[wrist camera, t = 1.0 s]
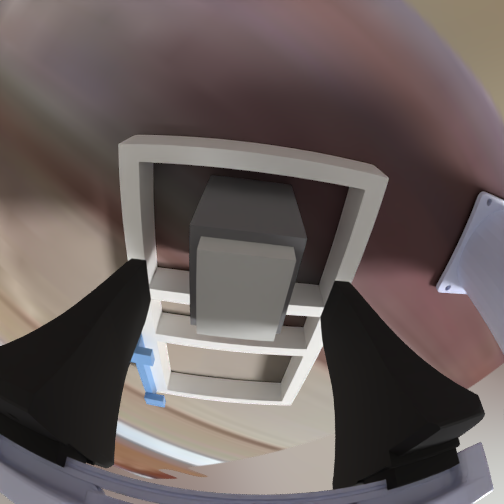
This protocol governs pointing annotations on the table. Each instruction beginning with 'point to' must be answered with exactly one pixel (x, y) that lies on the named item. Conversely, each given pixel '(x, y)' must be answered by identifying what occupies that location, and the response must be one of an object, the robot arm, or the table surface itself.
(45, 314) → the table surface
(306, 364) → the white cubby shelf
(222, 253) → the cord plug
